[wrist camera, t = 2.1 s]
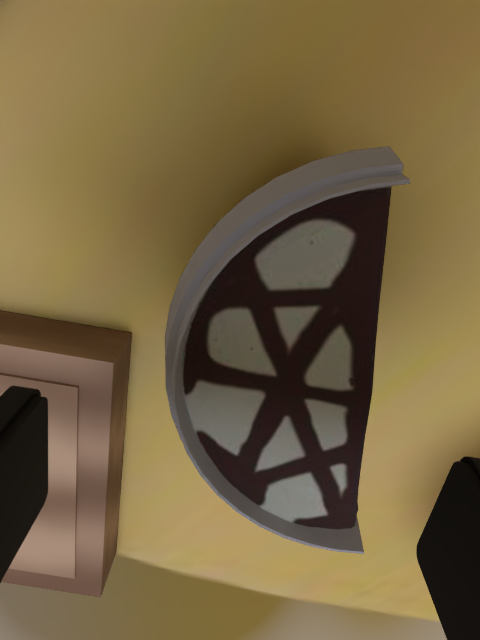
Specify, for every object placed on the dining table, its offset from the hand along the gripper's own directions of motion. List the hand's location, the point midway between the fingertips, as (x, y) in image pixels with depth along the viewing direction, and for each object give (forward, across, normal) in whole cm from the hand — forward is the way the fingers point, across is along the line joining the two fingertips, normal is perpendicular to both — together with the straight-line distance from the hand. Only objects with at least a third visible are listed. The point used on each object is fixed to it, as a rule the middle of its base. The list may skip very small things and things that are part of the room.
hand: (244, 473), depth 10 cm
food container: (+12, -1, -1) cm, 12 cm away
